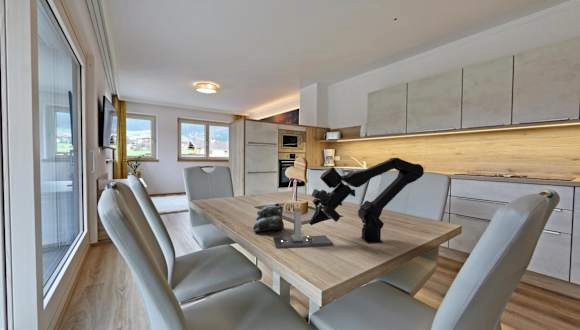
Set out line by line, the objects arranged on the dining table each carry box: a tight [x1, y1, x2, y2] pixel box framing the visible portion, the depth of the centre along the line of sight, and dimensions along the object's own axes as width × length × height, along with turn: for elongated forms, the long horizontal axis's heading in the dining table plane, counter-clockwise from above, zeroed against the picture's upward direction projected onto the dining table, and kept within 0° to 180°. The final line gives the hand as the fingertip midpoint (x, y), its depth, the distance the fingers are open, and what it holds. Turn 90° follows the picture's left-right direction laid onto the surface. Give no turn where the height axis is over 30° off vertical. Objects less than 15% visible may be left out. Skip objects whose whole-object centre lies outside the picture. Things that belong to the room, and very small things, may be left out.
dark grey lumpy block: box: [252, 203, 285, 233], centre depth 108 cm, size 15×12×14 cm
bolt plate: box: [272, 234, 334, 249], centre depth 93 cm, size 22×9×2 cm, turn 100°
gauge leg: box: [290, 207, 304, 242], centre depth 92 cm, size 4×4×12 cm
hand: (310, 224), depth 93 cm, fingers closed
